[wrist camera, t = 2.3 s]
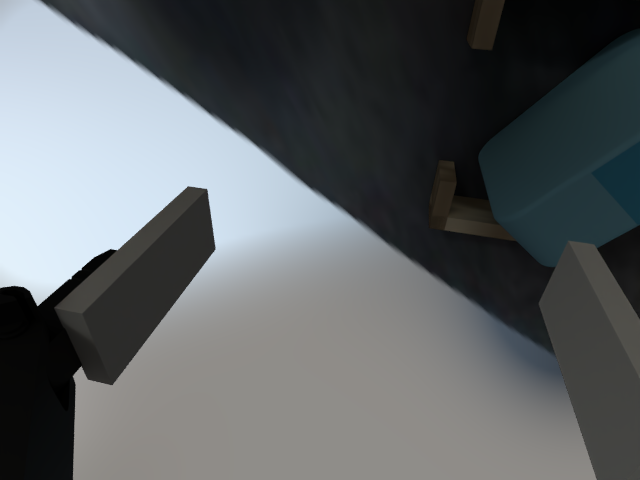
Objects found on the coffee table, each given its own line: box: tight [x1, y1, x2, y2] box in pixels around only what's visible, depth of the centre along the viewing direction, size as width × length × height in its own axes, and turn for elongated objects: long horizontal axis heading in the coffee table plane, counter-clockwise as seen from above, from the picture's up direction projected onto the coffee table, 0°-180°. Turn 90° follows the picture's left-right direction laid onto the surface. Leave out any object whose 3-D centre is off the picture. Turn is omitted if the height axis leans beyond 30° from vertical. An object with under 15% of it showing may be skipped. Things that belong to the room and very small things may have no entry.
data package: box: [478, 28, 640, 267], centre depth 24 cm, size 12×4×12 cm, turn 140°
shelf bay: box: [429, 0, 516, 241], centre depth 28 cm, size 11×17×4 cm, turn 177°
